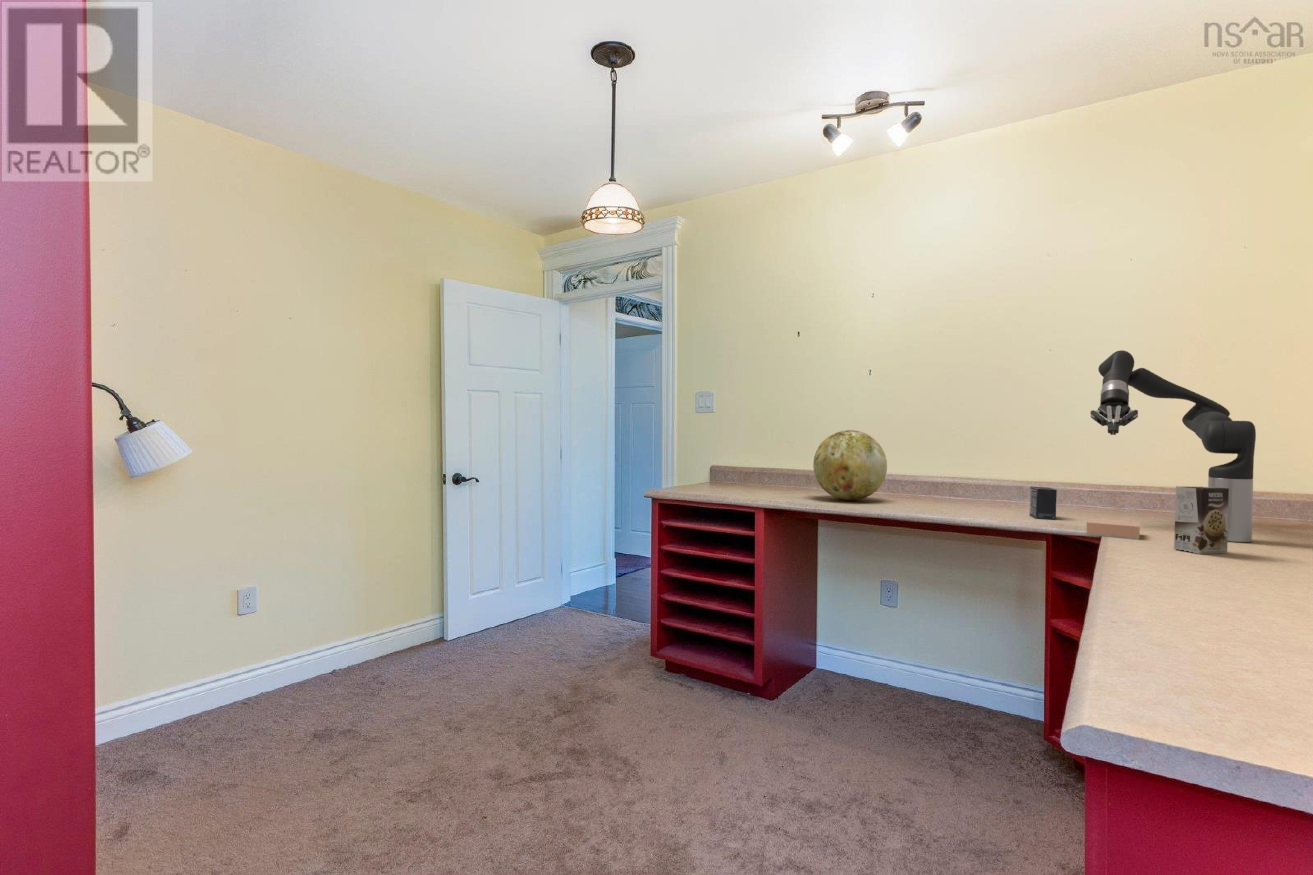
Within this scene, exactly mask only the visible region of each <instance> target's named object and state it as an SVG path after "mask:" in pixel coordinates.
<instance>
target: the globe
mask: <svg viewBox="0 0 1313 875" xmlns="http://www.w3.org/2000/svg"><path fill="white" fill-rule="evenodd" d="M812 468H813V474H814V477H815V479H816V481H817V483H818V485H819V486H820V488H822V489H823V491H824V492H825V493H827V494H829V496H832V497H833V498H835V499H838V500H842V501H847V502H848V501H851V502H852V501H860V500H863V499H866V498H868V497H870V496H871V495H873V494H875V493H876V492H877V491H878V489H879V488H880V487H881V486H882V484H883V483H884V481H885V479H886V476H887V470H888V460H887V456H886V454H885V451H884V449H883V448H882V446H881V445H880V443H879V442H878V441H877V440H876V439H875V438H873V437H872V436H871V435H869V434H867V433H865V432H863V431H859V430H852V429H851V430H850V429H848V430H840V431H837V432H835V433H832V434H831V435H829V436H827V437H826V438H824V440H823V441H822V442H821V443H819V446H818V447H817V450H816V451H815V453H814V457H813V466H812Z"/></svg>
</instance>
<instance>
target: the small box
mask: <svg viewBox="0 0 1313 875" xmlns="http://www.w3.org/2000/svg"><path fill="white" fill-rule="evenodd" d="M1029 491H1030V500H1029V514H1028V515H1029V516H1030V517H1032V518H1034V519H1039V520H1056V519H1057V496H1058V495H1057V493H1058V492H1057V491H1058V490H1057V489H1055V488H1051V487H1044V486H1043V487H1042V486H1030V489H1029Z"/></svg>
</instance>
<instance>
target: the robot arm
mask: <svg viewBox="0 0 1313 875" xmlns="http://www.w3.org/2000/svg"><path fill="white" fill-rule="evenodd" d="M1134 367H1135V358H1134V357H1133V355H1132V354H1131V353H1130V352H1129V351H1127V350H1122V349H1121V350H1117V351H1115V352H1112V354H1111V355H1109V356H1108V357H1107V358H1106V359H1105V360H1104V361H1102V362H1101V363H1100V364H1099V366H1098V369H1097V370H1098V373H1099V374H1100V376H1102V377H1103V378H1102V384H1101V386H1102V387H1101V390H1100V400H1099V401H1100V403H1099V406H1098V408H1097V409H1096V410H1094V409H1093V410H1091V411H1090V418H1091V419H1092V420H1094V421H1095V422H1096V423H1098V424H1099V425H1100V426H1101V427H1105V426H1106V427H1107V433H1108V434H1109V436H1116V435H1117V434H1119V432H1120V427H1121V426H1122V427H1125V426H1128V425H1129V424H1130V423H1131V422H1133V421H1135V420H1136V419H1138V417H1139V411H1138V409H1134V410H1132V409H1131V407H1130V406H1129V405H1130V404H1129V401H1130V400H1129V399H1130V390H1129V387H1132V388H1133V389H1135V390H1137V391H1139V392H1141V393H1142V394H1143V395H1146V396H1148V397H1150V398H1151V397H1152V398H1157V399H1172V400H1173V399H1177V400H1185V401H1189V402H1192V403H1194V405H1193V406H1192V407H1191V408H1189V410H1188V411H1187V412H1186V413H1185V414H1184V415H1183V416H1182V418H1181V421H1182V423H1183V425H1184V426H1185V427H1186V428H1187V429H1189V430H1190V431H1191V432H1194V434H1195V435H1196V436H1197V437H1198V438H1199V439H1200V440H1201V442H1202V443H1201V444H1202V445H1203V447H1204V449H1205V451H1207V452H1209V453H1211V454H1222V455H1223V454H1226V455H1227V454H1228V455H1230V454H1231V455H1234V454H1235V455H1237V456H1236V458H1234V459H1233V460H1230V461H1229V462H1227V463H1223V464H1219V465H1214V466H1211V467H1210V468H1208V471H1207V472H1208V474H1207V476H1208V480H1207V481H1208V482H1207V484H1208V485H1207V487H1218V488H1229V501H1228V542H1235V543H1251V542H1252V541H1253V514H1254V513H1253V508H1254V507H1253V505H1254V504H1253V503H1254V499H1253V498H1254V461H1255V450H1256V448H1255V447H1256V438H1257V437H1256V436H1257V434H1256V433H1257V432H1256V431H1257V430H1256V425H1255V424H1254V423H1253V422H1252V421H1249V420H1233V419H1232V418H1230V415H1231V413H1230V411H1229V410H1228V409H1227V408H1226V407H1225V406H1224V405H1222V404H1220V403H1218V402H1217V401H1215V400H1213V399H1211V398H1208V397H1206V396H1204V395H1202V394H1199V393H1197V392H1195V391H1192V390H1190V389H1188V388H1186V387H1183V386H1181V385H1179V384H1176V383H1173V382H1171V381H1169V380H1167V379H1165V378H1163V377H1162V376H1159V375H1158V374H1156V373H1155V372H1153V371H1151V370H1149V369H1147V368H1145V367H1138V368H1137V369H1134Z"/></svg>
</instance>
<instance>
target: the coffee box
mask: <svg viewBox="0 0 1313 875" xmlns="http://www.w3.org/2000/svg"><path fill="white" fill-rule="evenodd" d="M1228 501H1229V488H1218V487H1208V486H1177V485H1176V486H1175V501H1174V502H1175V503H1174V504H1175V506H1174V508H1175V509H1174V535H1173V536H1174V537H1173V538H1174V539H1173V543H1174V544H1173V550H1175V549H1180V550H1184V551H1183V552H1186V551H1189V552H1188V553H1191V552H1193V553H1192V554H1196V553H1197V554H1196V555H1204V554H1205V555H1211V554H1212V555H1213V554H1228V543H1229V541H1228ZM1180 550H1179V551H1180Z"/></svg>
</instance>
